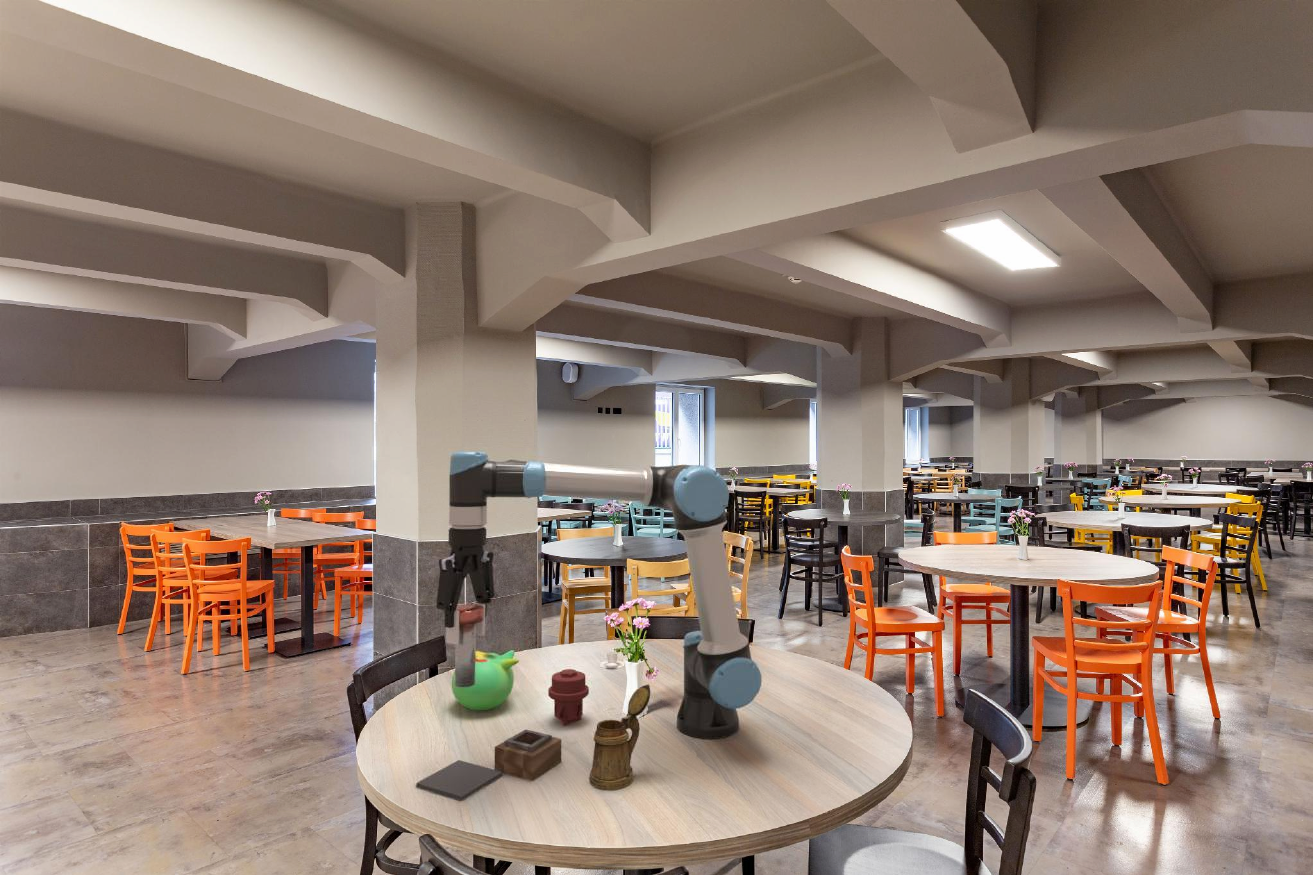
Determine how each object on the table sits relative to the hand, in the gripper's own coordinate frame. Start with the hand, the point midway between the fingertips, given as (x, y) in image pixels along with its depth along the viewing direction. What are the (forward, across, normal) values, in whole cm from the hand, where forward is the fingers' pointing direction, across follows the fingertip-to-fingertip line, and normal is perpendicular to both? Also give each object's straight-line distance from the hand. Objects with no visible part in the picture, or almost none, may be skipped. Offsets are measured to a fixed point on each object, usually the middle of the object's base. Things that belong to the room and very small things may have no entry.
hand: (465, 638), depth 147 cm
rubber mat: (+29, +1, 0) cm, 29 cm away
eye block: (+29, -11, +8) cm, 32 cm away
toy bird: (+29, -34, -24) cm, 51 cm away
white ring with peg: (+29, -79, -16) cm, 86 cm away
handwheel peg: (+9, 0, 0) cm, 9 cm away
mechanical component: (+29, -36, +1) cm, 46 cm away
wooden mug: (+29, -16, +28) cm, 43 cm away
